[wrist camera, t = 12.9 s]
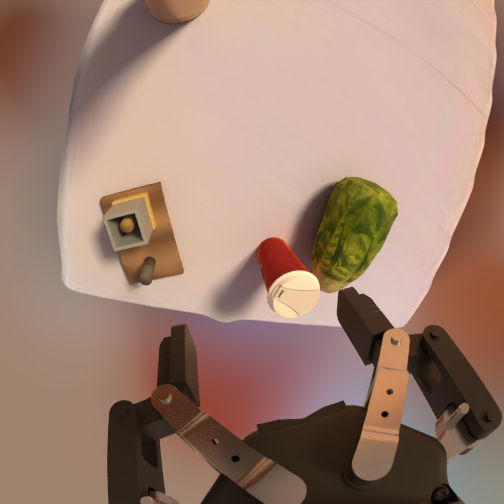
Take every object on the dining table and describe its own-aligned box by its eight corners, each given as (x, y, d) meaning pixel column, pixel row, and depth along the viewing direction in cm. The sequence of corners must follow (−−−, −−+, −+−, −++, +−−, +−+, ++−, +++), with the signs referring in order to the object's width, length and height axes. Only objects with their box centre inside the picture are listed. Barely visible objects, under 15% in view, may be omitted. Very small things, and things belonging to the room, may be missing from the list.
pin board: (102, 197, 39) (88, 211, 34) (160, 181, 40) (154, 194, 35) (131, 280, 47) (124, 302, 42) (183, 269, 48) (182, 292, 43)
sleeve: (114, 200, 39) (100, 216, 33) (147, 191, 40) (138, 206, 34) (124, 232, 42) (113, 253, 36) (156, 225, 42) (149, 245, 36)
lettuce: (286, 267, 52) (306, 305, 42) (330, 162, 44) (365, 179, 34) (336, 277, 56) (361, 312, 46) (379, 184, 47) (417, 205, 38)
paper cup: (243, 261, 50) (259, 313, 38) (264, 224, 47) (288, 268, 35) (280, 275, 53) (304, 325, 41) (301, 241, 50) (333, 286, 38)
